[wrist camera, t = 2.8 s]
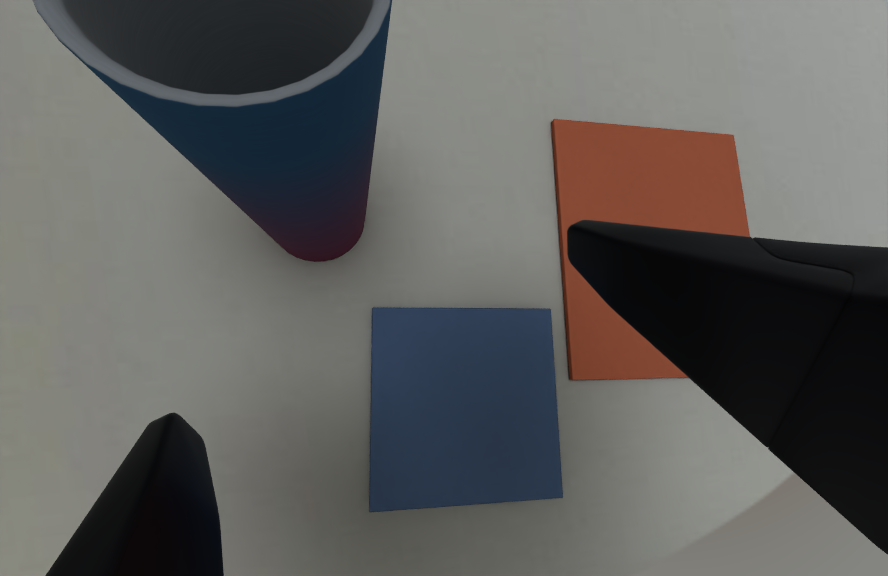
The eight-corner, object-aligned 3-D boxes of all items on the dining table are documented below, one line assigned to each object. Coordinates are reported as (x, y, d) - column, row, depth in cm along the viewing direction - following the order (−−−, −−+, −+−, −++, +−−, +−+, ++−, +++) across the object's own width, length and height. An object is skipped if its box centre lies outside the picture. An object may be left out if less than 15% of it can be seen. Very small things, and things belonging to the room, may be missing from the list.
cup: (234, 260, 21) (-55, 38, 7) (273, 145, 23) (103, -237, 8) (364, 291, 22) (347, 150, 8) (393, 178, 24) (426, -118, 9)
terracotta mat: (766, 375, 26) (772, 375, 25) (569, 380, 23) (572, 380, 23) (729, 137, 28) (733, 134, 28) (551, 122, 26) (553, 118, 26)
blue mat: (559, 495, 22) (563, 497, 22) (369, 509, 20) (369, 512, 20) (548, 309, 24) (550, 308, 24) (372, 308, 22) (372, 307, 22)
